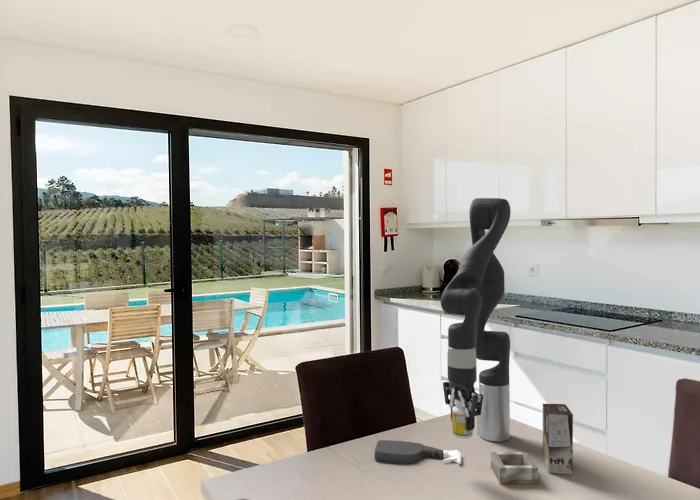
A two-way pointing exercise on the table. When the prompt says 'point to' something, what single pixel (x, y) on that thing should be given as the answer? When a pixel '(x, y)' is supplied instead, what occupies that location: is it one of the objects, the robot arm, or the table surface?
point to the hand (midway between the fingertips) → (462, 425)
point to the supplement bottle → (460, 421)
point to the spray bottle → (411, 452)
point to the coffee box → (558, 438)
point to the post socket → (514, 468)
